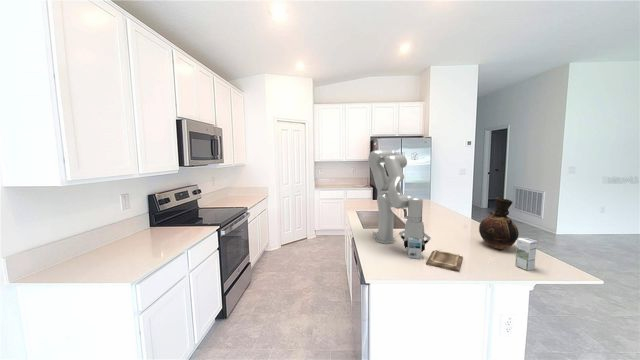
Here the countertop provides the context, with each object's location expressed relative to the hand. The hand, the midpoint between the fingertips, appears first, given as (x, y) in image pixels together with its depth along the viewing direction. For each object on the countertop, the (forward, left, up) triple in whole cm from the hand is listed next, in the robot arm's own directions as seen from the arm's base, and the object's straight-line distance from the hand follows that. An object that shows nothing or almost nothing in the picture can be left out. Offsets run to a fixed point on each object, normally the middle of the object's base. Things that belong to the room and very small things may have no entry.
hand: (414, 249), depth 139 cm
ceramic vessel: (+39, +39, -3) cm, 55 cm away
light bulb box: (0, 0, -4) cm, 4 cm away
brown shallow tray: (+16, 0, -3) cm, 16 cm away
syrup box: (+50, +14, -3) cm, 52 cm away
